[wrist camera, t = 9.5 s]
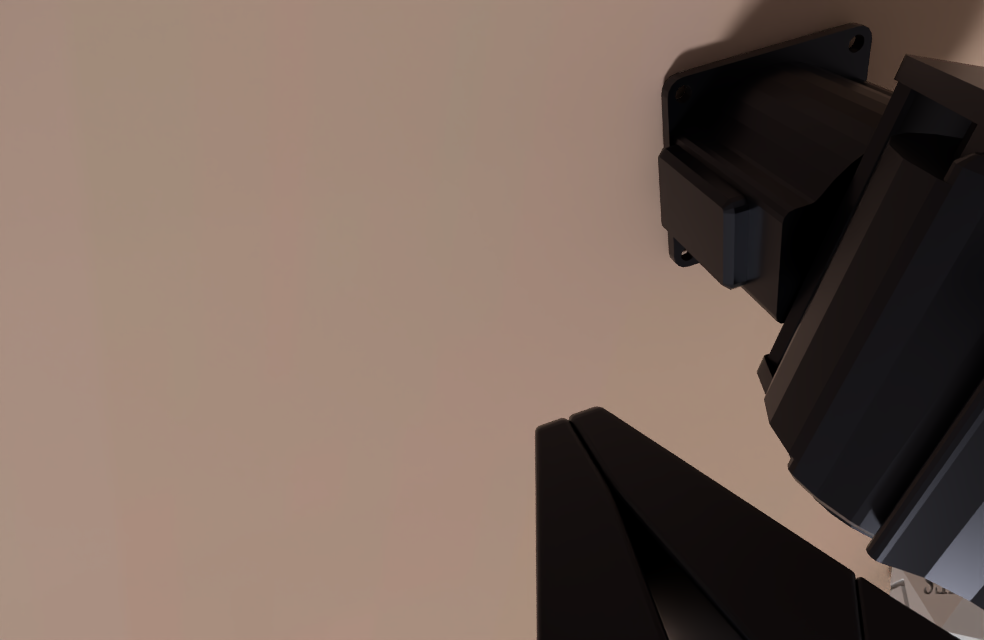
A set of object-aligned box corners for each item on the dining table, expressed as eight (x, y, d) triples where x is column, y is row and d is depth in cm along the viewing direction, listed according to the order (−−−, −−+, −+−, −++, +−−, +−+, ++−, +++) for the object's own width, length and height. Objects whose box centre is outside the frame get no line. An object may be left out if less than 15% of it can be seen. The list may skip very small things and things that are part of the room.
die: (933, 483, 38) (944, 677, 32) (1107, 536, 37) (1150, 746, 31) (857, 532, 45) (855, 699, 39) (1001, 578, 44) (1020, 756, 38)
